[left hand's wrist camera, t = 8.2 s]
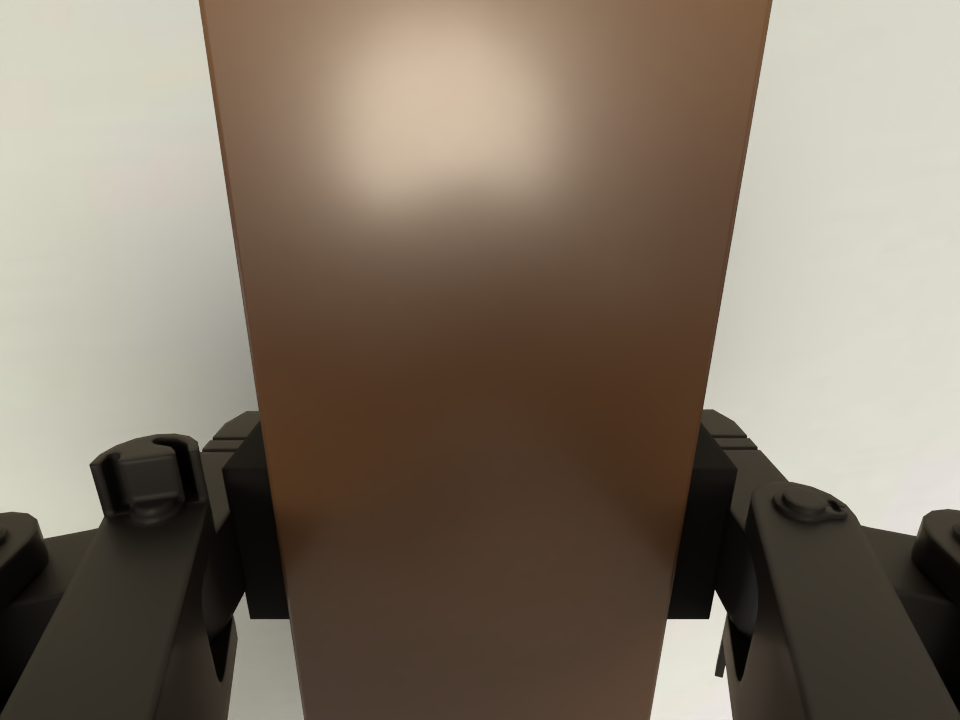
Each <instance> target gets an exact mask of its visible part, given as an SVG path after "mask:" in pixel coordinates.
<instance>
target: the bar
mask: <svg viewBox="0 0 960 720" xmlns="http://www.w3.org/2000/svg"><path fill="white" fill-rule="evenodd" d="M199 5H200V12H201V18H202V25H203V32H204V39H205V46H206V53H207V59H208V66H209V73H210V80H211V87H212V93H213V100H214V107H215V114H216V121H217V128H218V134H219V141H220V148H221V155H222V162H223V168H224V175H225V182H226V189H227V196H228V203H229V209H230V216H231V223H232V230H233V237H234V243H235V250H236V257H237V264H238V271H239V278H240V284H241V291H242V298H243V305H244V312H245V318H246V325H247V332H248V339H249V346H250V352H251V359H252V366H253V373H254V380H255V387H256V393H257V400H258V407H259V414H260V421H261V427H262V434H263V441H264V448H265V455H266V462H267V468H268V475H269V482H270V489H271V496H272V502H273V509H274V516H275V523H276V530H277V537H278V543H279V550H280V557H281V564H282V571H283V577H284V584H285V591H286V598H287V605H288V612H289V618H290V625H291V632H292V639H293V646H294V652H295V659H296V666H297V673H298V680H299V687H300V693H301V700H302V707H303V714H304V720H650V715H651V709H652V704H653V698H654V692H655V686H656V680H657V674H658V668H659V663H660V657H661V651H662V645H663V639H664V633H665V627H666V622H667V616H668V610H669V604H670V598H671V592H672V586H673V581H674V575H675V569H676V563H677V557H678V551H679V545H680V540H681V534H682V528H683V522H684V516H685V510H686V504H687V499H688V493H689V487H690V481H691V475H692V469H693V463H694V457H695V452H696V446H697V440H698V434H699V428H700V422H701V416H702V411H703V405H704V399H705V393H706V387H707V381H708V375H709V370H710V364H711V358H712V352H713V346H714V340H715V334H716V329H717V323H718V317H719V311H720V305H721V299H722V293H723V288H724V282H725V276H726V270H727V264H728V258H729V252H730V247H731V241H732V235H733V229H734V223H735V217H736V211H737V205H738V200H739V194H740V188H741V182H742V176H743V170H744V164H745V159H746V153H747V147H748V141H749V135H750V129H751V123H752V118H753V112H754V106H755V100H756V94H757V88H758V82H759V77H760V71H761V65H762V59H763V53H764V47H765V41H766V36H767V30H768V24H769V18H770V12H771V6H772V0H199Z"/></svg>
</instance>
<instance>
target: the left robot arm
mask: <svg viewBox="0 0 960 720" xmlns="http://www.w3.org/2000/svg"><path fill="white" fill-rule="evenodd" d="M89 465H90V468H91V472H92V475H93V479H94V482H95V486H96V489H97V493H98V496H99V499H100V503H101V506H102V510H103V513H104V518H103V520H102V522H101V524H100V526H99V528H97V529H93V530H88V531H83V532H77V533H72V534H67V535H62V536H56V537H51V538H46V539H44V538H43V536H42V533H41V530H40V527H39V524H38V521H37V519H36V518H34V517H33V516H31V515H30V514H28V513H18V512H7V513H0V720H227V718H228V710H229V703H230V695H231V687H232V679H233V671H234V663H235V656H236V648H237V640H238V638H237V631H236V625H235V621H234V616H233V613H234V611H235V609H236V608H237V606H238V604H239V602H240V600H241V598H242V596H243V594H244V592H245V594H246V599H247V604H248V609H249V614H250V619H290V618H289V612H288V605H287V598H286V591H285V584H284V577H283V571H282V564H281V557H280V550H279V543H278V537H277V530H276V523H275V516H274V509H273V502H272V496H271V489H270V482H269V475H268V468H267V462H266V455H265V448H264V441H263V434H262V427H261V421H260V414H259V411H246V412H245V413H243V414H241V415H239V416H238V417H236V418H234V419H232V420H231V421H229V422H227V423H225V425H224V426H223V427H222V428H221V429H220V430H219V431H218V432H217V433H216V435H215V436H214V437H213V440H210V441H209V442H208V443H207V445H206V446H205V447H204V448H203V449H202V452H200V451H199V446H198V442H197V441H196V440H194V439H193V438H191V437H190V436H185V435H180V434H156V435H151V436H146V437H141V438H136V439H133V440H130V441H127V442H125V443H122V444H119V445H116V446H114V447H113V448H111V449H109V450H107V451H105V452H103V453H102V454H100V455H99V456H98V457H97V458H96V459H95V460H94V461H93V462H92V463H91V464H89ZM715 590H716V592H717V594H718V596H719V598H720V600H721V602H722V604H723V606H724V607H725V609H726V611H727V616H726V621H725V625H724V630H723V635H722V640H721V645H720V650H719V654H718V659H717V664H716V671H715V676H718V677H722V678H723V673H724V668H725V666H726V670H727V678H728V685H729V693H730V701H731V709H732V717H733V720H960V511H959V510H951V509H945V510H935V511H931V512H930V513H928V514H927V515H925V516H924V517H923V519H922V522H921V525H920V528H919V531H918V534H917V536H912V535H907V534H901V533H896V532H891V531H886V530H880V529H875V528H870V527H866V526H861V525H860V523H859V521H858V519H857V517H856V516H855V514H854V513H853V512H852V511H851V510H850V509H849V507H848V506H847V505H846V504H844V503H843V502H841V501H840V500H838V499H837V498H835V497H834V496H832V495H831V494H828V493H826V492H823V491H821V490H819V489H816V488H814V487H811V486H807V485H802V484H798V483H794V482H789V481H788V480H787V479H786V478H785V477H784V476H783V475H782V474H781V473H780V471H779V470H778V469H777V468H776V467H775V466H774V465H773V464H772V463H771V461H770V460H769V459H768V458H767V457H766V456H765V455H764V454H763V453H762V452H761V450H758V449H757V446H756V445H755V444H754V443H753V442H752V441H751V439H750V438H747V435H746V434H745V433H744V432H743V431H742V430H741V428H740V427H739V426H738V425H737V424H736V423H735V422H734V421H732V420H731V419H729V418H727V417H725V416H724V415H722V414H720V413H718V412H717V411H715V410H703V411H702V416H701V422H700V428H699V434H698V440H697V446H696V452H695V457H694V463H693V469H692V475H691V481H690V487H689V493H688V499H687V504H686V510H685V516H684V522H683V528H682V534H681V540H680V545H679V551H678V557H677V563H676V569H675V575H674V581H673V586H672V592H671V598H670V604H669V610H668V616H667V619H709V617H710V612H711V606H712V601H713V596H714V591H715Z"/></svg>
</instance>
